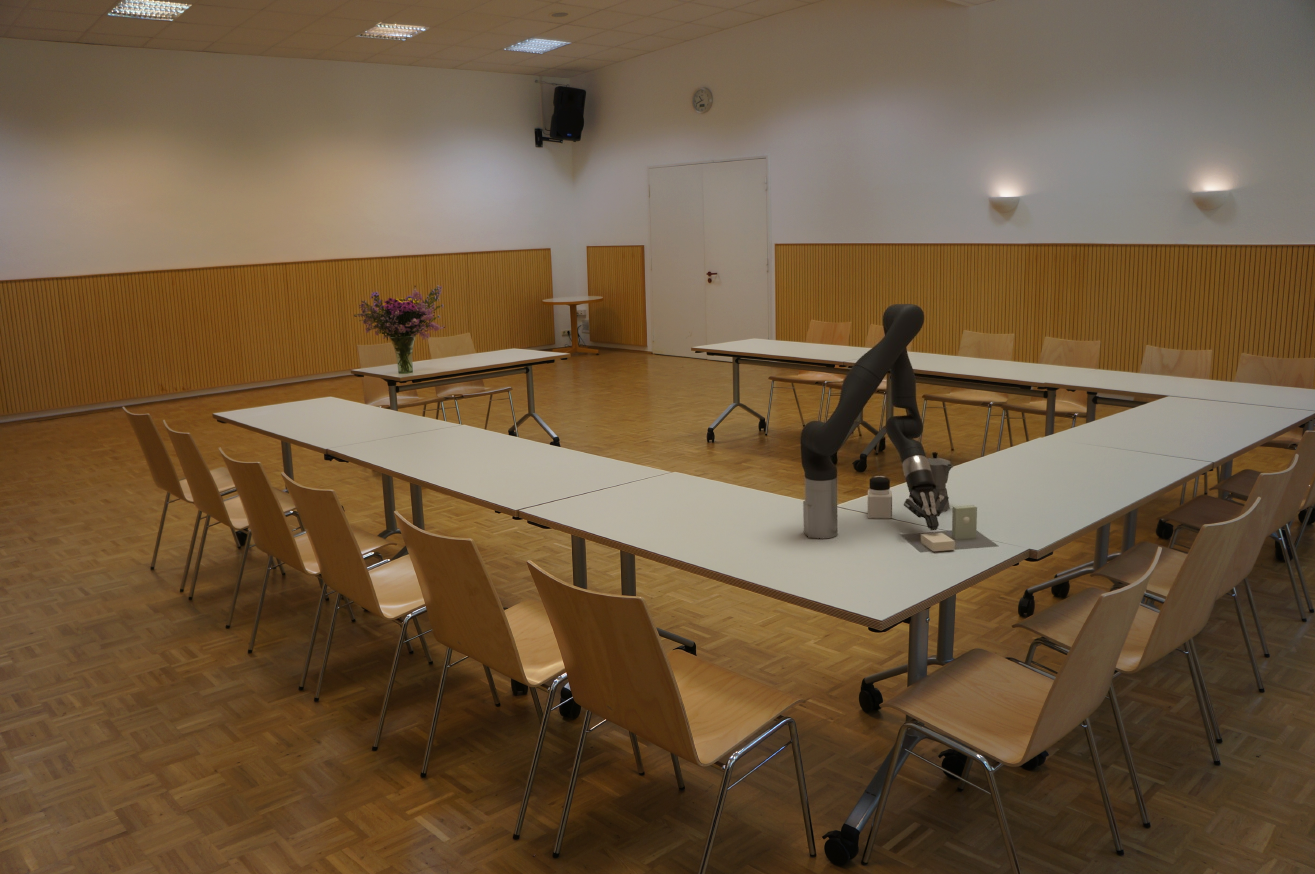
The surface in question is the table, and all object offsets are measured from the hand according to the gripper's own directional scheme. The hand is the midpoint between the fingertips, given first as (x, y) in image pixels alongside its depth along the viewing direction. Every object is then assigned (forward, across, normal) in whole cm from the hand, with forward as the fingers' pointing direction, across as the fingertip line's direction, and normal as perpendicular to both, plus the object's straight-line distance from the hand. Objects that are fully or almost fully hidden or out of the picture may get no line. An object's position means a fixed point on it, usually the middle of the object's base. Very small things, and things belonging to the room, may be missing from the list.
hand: (934, 528), depth 260 cm
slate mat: (+2, +5, +5) cm, 7 cm away
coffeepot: (-21, +13, +28) cm, 38 cm away
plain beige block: (+1, 0, +4) cm, 4 cm away
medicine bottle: (-18, -5, +26) cm, 32 cm away
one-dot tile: (+1, +10, +5) cm, 11 cm away
